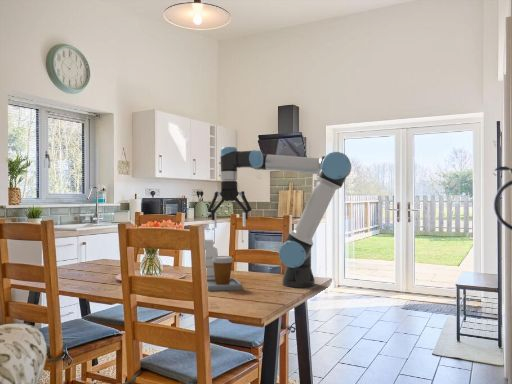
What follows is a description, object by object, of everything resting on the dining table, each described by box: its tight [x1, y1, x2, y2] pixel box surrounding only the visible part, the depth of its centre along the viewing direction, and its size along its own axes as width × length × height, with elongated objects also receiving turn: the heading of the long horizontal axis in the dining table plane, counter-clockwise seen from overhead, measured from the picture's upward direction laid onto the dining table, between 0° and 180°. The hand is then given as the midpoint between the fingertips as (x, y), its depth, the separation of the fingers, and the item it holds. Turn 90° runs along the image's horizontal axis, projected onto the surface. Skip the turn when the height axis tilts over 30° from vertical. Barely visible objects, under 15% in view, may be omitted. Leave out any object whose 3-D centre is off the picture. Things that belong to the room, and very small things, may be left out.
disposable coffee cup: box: [212, 255, 234, 285], centre depth 200 cm, size 10×10×12 cm
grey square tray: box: [207, 277, 243, 292], centre depth 200 cm, size 15×15×2 cm
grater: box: [204, 238, 219, 279], centre depth 217 cm, size 10×10×20 cm
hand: (229, 227), depth 202 cm, fingers open, 13 cm apart
